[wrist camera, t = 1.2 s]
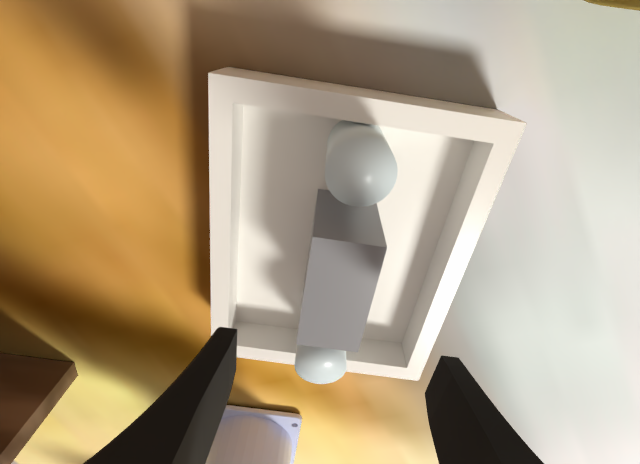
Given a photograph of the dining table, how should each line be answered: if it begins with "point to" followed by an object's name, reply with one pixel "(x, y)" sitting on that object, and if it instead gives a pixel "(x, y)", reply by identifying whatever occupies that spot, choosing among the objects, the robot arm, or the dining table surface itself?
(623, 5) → the flower pot
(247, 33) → the dining table surface
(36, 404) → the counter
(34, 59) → the dining table surface
